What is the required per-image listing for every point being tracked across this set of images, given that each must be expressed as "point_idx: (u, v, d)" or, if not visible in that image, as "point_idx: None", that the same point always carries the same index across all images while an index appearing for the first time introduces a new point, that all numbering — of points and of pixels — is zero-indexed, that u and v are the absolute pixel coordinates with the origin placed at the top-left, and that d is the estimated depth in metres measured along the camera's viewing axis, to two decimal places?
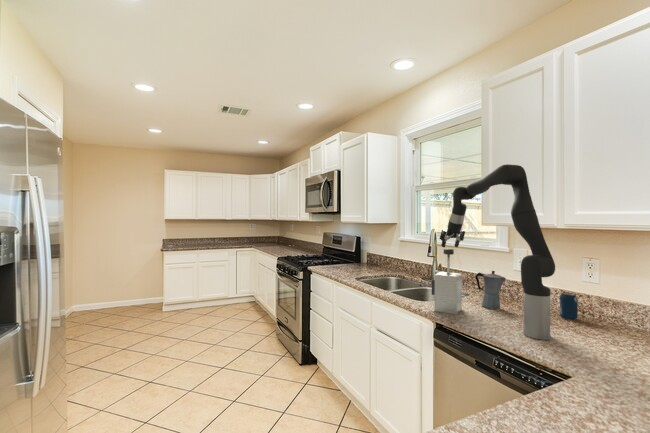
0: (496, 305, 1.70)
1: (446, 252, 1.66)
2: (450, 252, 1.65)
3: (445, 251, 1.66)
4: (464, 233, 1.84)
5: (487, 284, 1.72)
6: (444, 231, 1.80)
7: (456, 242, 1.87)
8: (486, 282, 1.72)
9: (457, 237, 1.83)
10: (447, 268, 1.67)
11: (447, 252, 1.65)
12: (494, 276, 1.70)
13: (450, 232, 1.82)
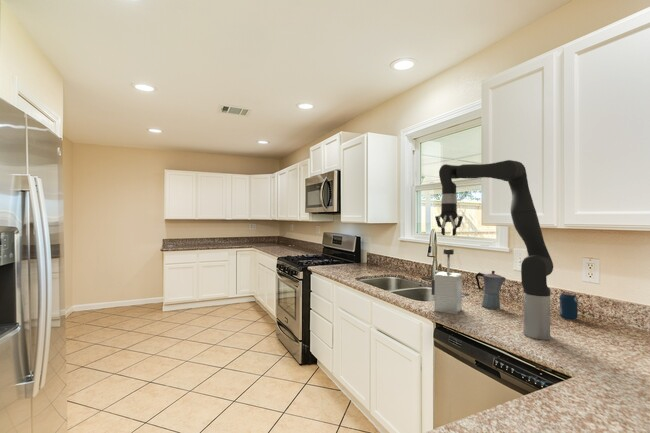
0: (496, 305, 1.70)
1: (446, 252, 1.66)
2: (450, 252, 1.65)
3: (445, 251, 1.66)
4: (461, 218, 1.63)
5: (486, 284, 1.72)
6: (435, 216, 1.70)
7: None
8: (486, 282, 1.72)
9: (450, 221, 1.65)
10: (447, 268, 1.67)
11: (447, 252, 1.65)
12: (494, 276, 1.70)
13: (442, 216, 1.68)
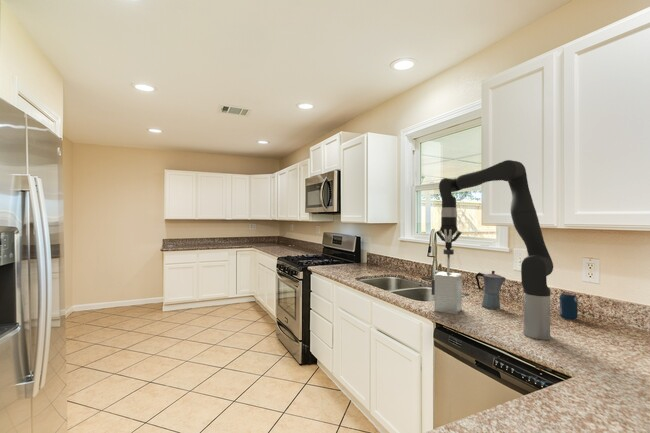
0: (496, 305, 1.70)
1: (446, 252, 1.66)
2: (450, 252, 1.65)
3: (445, 251, 1.66)
4: (459, 234, 1.63)
5: (486, 284, 1.72)
6: (436, 232, 1.70)
7: None
8: (486, 282, 1.72)
9: (449, 234, 1.66)
10: (447, 268, 1.67)
11: (447, 252, 1.65)
12: (494, 276, 1.70)
13: (442, 230, 1.68)
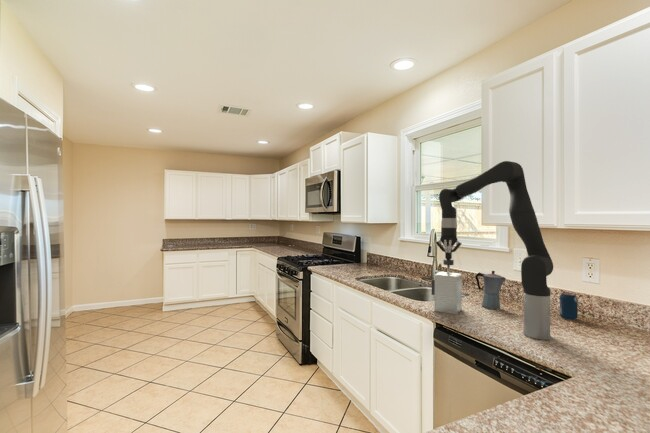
0: (496, 305, 1.70)
1: (446, 263, 1.66)
2: (450, 263, 1.65)
3: (445, 262, 1.66)
4: (459, 245, 1.63)
5: (486, 284, 1.72)
6: (436, 242, 1.70)
7: None
8: (486, 282, 1.72)
9: (449, 245, 1.66)
10: None
11: (447, 263, 1.65)
12: (494, 276, 1.70)
13: (442, 241, 1.68)
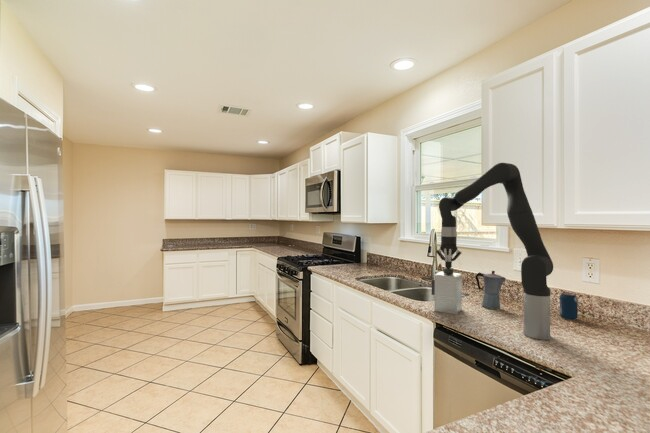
0: (496, 305, 1.70)
1: (446, 271, 1.66)
2: (450, 271, 1.65)
3: (445, 270, 1.66)
4: (459, 254, 1.63)
5: (487, 284, 1.72)
6: (436, 251, 1.70)
7: None
8: (486, 282, 1.72)
9: (448, 254, 1.66)
10: None
11: (447, 271, 1.65)
12: (494, 276, 1.70)
13: (442, 250, 1.68)
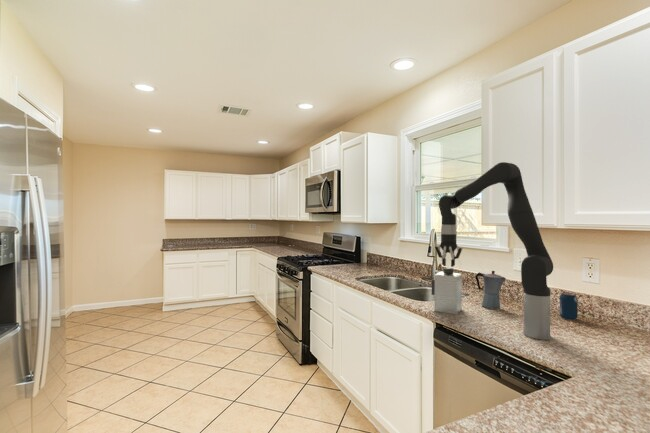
0: (496, 305, 1.70)
1: (446, 271, 1.66)
2: (450, 271, 1.65)
3: (445, 270, 1.66)
4: (460, 250, 1.63)
5: (486, 284, 1.72)
6: (435, 247, 1.70)
7: None
8: (486, 282, 1.72)
9: (450, 252, 1.65)
10: None
11: (447, 271, 1.65)
12: (494, 276, 1.70)
13: (442, 247, 1.68)
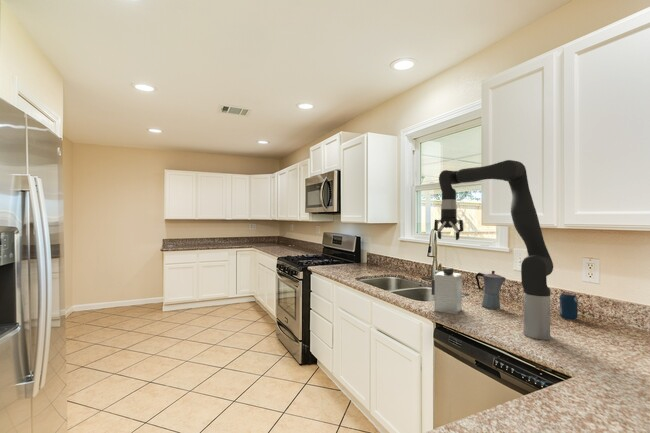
0: (496, 305, 1.70)
1: (446, 271, 1.66)
2: (450, 271, 1.65)
3: (445, 270, 1.66)
4: (461, 222, 1.63)
5: (486, 284, 1.72)
6: None
7: None
8: (486, 282, 1.72)
9: (452, 226, 1.65)
10: None
11: (447, 271, 1.65)
12: (494, 276, 1.70)
13: (442, 220, 1.68)
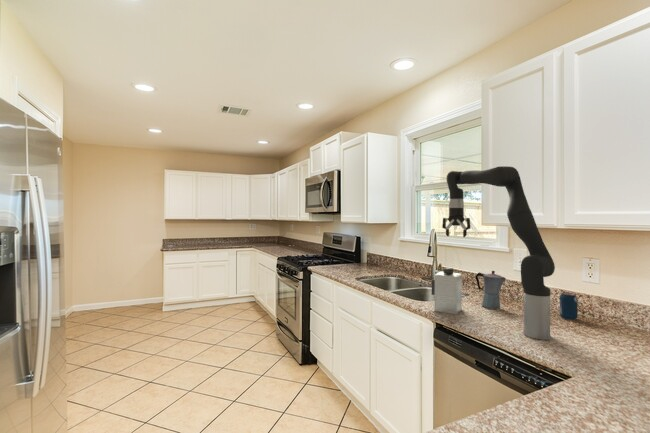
0: (496, 305, 1.70)
1: (446, 271, 1.66)
2: (450, 271, 1.65)
3: (445, 270, 1.66)
4: (468, 220, 1.72)
5: (487, 284, 1.72)
6: (443, 218, 1.80)
7: None
8: (486, 282, 1.72)
9: (459, 224, 1.74)
10: None
11: (447, 271, 1.65)
12: (494, 276, 1.70)
13: (450, 219, 1.77)
